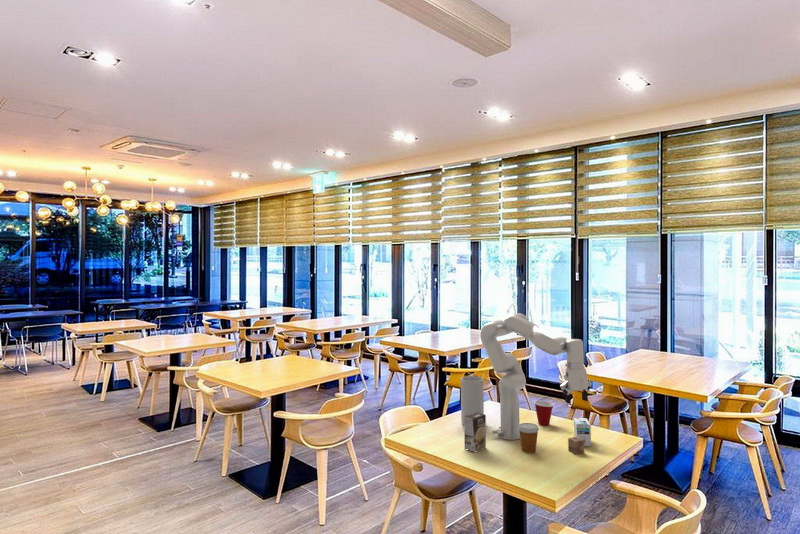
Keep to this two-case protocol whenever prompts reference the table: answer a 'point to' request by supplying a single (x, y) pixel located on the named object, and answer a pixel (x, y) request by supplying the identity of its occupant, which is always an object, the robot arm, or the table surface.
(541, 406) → the plastic cup
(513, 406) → the robot arm
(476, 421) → the coffee box
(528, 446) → the disposable coffee cup
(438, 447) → the table surface
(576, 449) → the walnut block
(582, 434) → the light bulb box
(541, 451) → the table surface
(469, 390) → the cylinder vase
